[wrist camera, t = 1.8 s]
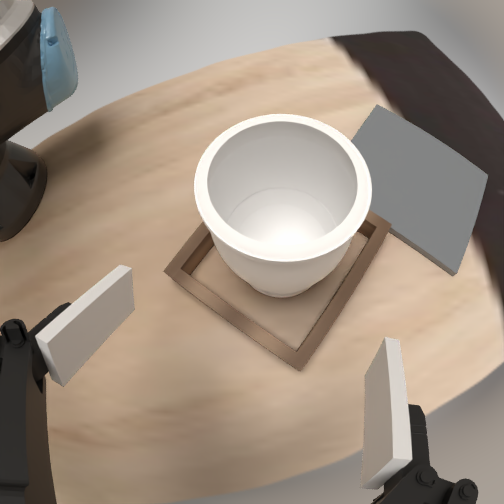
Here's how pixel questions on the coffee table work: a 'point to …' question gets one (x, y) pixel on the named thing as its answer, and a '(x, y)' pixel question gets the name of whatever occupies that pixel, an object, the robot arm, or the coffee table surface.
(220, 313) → the collar
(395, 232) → the board
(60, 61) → the robot arm
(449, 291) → the coffee table surface
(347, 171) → the jar
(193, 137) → the coffee table surface
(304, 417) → the coffee table surface
